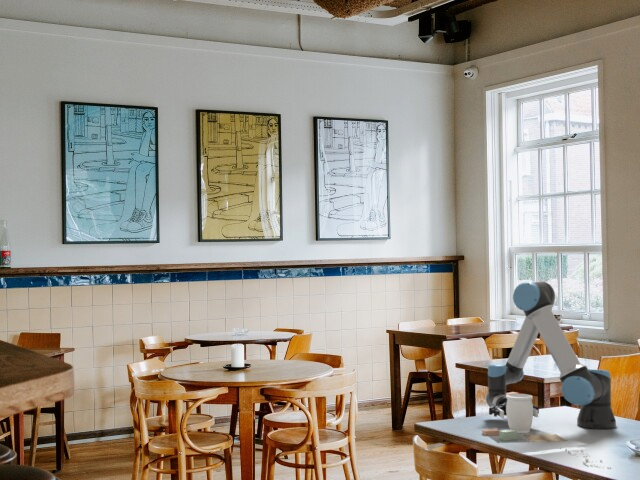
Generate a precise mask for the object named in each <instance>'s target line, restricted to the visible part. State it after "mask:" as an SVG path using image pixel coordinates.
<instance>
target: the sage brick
mask: <svg viewBox="0 0 640 480" xmlns="http://www.w3.org/2000/svg"><path fill="white" fill-rule="evenodd" d="M517 435H518V433H517V431H516V430H513V429H511V430H510V429H505V430H504V429H503V430H500V431H499V435H498V436H499V439H501V440H513V439H517Z"/></svg>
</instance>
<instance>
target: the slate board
mask: <svg viewBox="0 0 640 480" xmlns="http://www.w3.org/2000/svg"><path fill="white" fill-rule="evenodd" d="M488 437H489V438H490V439H491V440H493V441H495V443H497V444H504V443H505V444H507V443H512V444H513V443H529V442H530V441H529V440H527V439H526V438H524V437H522V436H521V435H519V434H517V439H513V440H501V439H499V435H488Z"/></svg>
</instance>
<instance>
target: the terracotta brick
mask: <svg viewBox="0 0 640 480" xmlns="http://www.w3.org/2000/svg"><path fill="white" fill-rule="evenodd" d="M481 431H482V432H481V434H482V435H483V436H485V437H486V436H499V431H501V430H500V429H497V428H493V429H492V428H491V429H481Z"/></svg>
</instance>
